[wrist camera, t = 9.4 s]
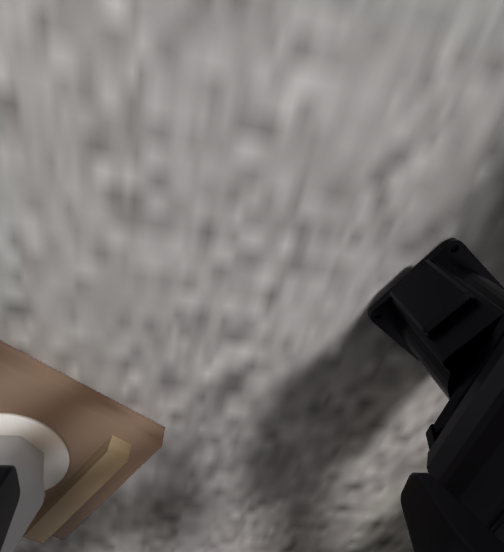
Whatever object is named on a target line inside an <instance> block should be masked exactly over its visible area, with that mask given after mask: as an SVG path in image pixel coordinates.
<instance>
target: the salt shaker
mask: <svg viewBox="0 0 504 552" xmlns="http://www.w3.org/2000/svg"><path fill="white" fill-rule="evenodd" d="M0 465H14V466H15V467H16V469H17V474H18V480H19V485H20V498H19V502H18V505H17V508H16V510H15V513H14V516H13V519H12V521H11V524H10V527H9V530H8V533H7V535H6V538H5V541H4V544H3V547H2V549H1V552H13V550H14V549H15V547H16V546H17V544H18V543H19V541H20V539H21V538H22V536H23V535H24V533H25V531H26V530H27V528H28V527H29V525H30V523H31V522H32V520H33V519H34V517H35V516H36V514H37V512H38V511H39V509H40V508H41V506H42V505H43V501H44V497H45V490H44V480H43V472H44V453H43V452H42V451H40V450H39V449H38V448H36V447H35V446H34V445H33V444H31V443H30V442H29V441H27V440H26V439H25V438H24V437H22V436H7V435H0Z"/></svg>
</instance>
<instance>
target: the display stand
mask: <svg viewBox="0 0 504 552" xmlns="http://www.w3.org/2000/svg"><path fill="white" fill-rule="evenodd" d="M164 430H165V427H163V426H161V425H159V424H157V423H156V422H154V421H152V420H150V419H148V418H146V417H144V416H142V415H140V414H138V413H137V412H135V411H133V410H131V409H129V408H127V407H125V406H123V405H121V404H119V403H118V402H116V401H114V400H112V399H110V398H108V397H106V396H104V395H102V394H100V393H99V392H97V391H95V390H93V389H91V388H89V387H87V386H85V385H83V384H82V383H80V382H78V381H76V380H74V379H72V378H70V377H68V376H66V375H64V374H63V373H61V372H59V371H57V370H55V369H53V368H51V367H49V366H47V365H45V364H44V363H42V362H40V361H38V360H36V359H34V358H32V357H30V356H28V355H26V354H25V353H23V352H21V351H19V350H17V349H15V348H13V347H11V346H9V345H7V344H6V343H4V342H2V341H0V435H7V436H22V437H24V438H25V439H26V440H27V441H29V442H30V443H31V444H33V445H34V446H35V447H36V448H38V449H39V450H40V451H42V452H43V453H44V472H43V480H44V490H45V497H44V501H43V505H42V506H41V508H40V509H39V511H38V512H37V514H36V516H35V517H34V519H33V520H32V522H31V523H30V525H29V527H28V528H27V530H26V532H25V534H24V537H26V538H29V539H32V540H34V541H37V542H40V543H44V542H45V541H46V540H47V539H48V538H49V537H50V536H51V535H52V536H54V537H57V538H60V539H63V540H64V539H65V538H66V537H67V536H68V535H69V534H70V533H71V532H72V531H73V530H74V529H76V528H77V527H78V526H79V525H80V524H81V523H82V522H83V521H84V520H85V519H86V518H87V517H88V516H89V515H90V514H91V513H92V512H93V511H94V510H95V509H97V508H98V507H99V506H100V505H101V504H102V503H103V502H104V501H105V500H106V499H107V498H108V497H109V496H110V495H111V494H112V493H113V492H114V491H115V490H116V489H118V488H119V487H120V486H121V485H122V484H123V483H124V482H125V481H126V480H127V479H128V478H129V477H130V476H131V475H132V474H133V473H134V472H135V471H136V470H137V469H139V468H140V467H141V466H142V465H143V464H144V463H145V462H146V461H147V460H148V459H149V458H150V457H151V456H152V455H153V454H154V453H155V452H156V451H157V450H158V449H160V448H161V447H162V443H163V437H164Z"/></svg>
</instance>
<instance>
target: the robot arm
mask: <svg viewBox="0 0 504 552" xmlns="http://www.w3.org/2000/svg"><path fill="white" fill-rule="evenodd" d="M453 245H455V247H454V249H453V250H450V248H451V247H452V246H453ZM378 312H380V314H379V315H377V316H374V315H375V314H376V313H378ZM368 316H369V318H370V319H371V321H372V322H373V323H375V324H376V325H377V326H378V327H379V328H381V329H382V330H383V331H384V332H385V333H386V334H388V335H389V336H390V337H391V338H392V339H394V340H395V341H396V342H397V343H398V344H400V345H401V346H402V347H403V348H404V349H406V350H407V351H408V352H409V353H410V354H411V355H413V356H414V357H415V358H416V359H417V360H419V361H420V362H421V363H422V365H423V366H424V367H425V369H426V370H427V371H428V373H429V374H430V375H431V376H432V378H433V379H434V380H435V382H436V383H437V384H438V386H439V387H440V388H441V390H442V391H443V392H444V394H445V395H446V396H447V398H448V399H449V401H448V403H447V405H446V406H445V408H444V409H443V411H442V412H441V414H440V416H439V417H438V419H437V420H436V422H435V423H434V424H431V425H430V427H429V429H428V430H427V432H426V437H427V441H428V445H429V452H428V459H427V469H428V473H429V474H428V473H412V474H410V476H409V478H408V480H407V482H406V484H405V486H404V489H403V491H402V493H401V505H402V509H403V513H404V516H405V520H406V524H407V527H408V531H409V535H410V538H411V542H412V546H413V549H414V552H504V288H503V287H502V286H501V285H500V284H499V282H498V281H497V280H496V279H495V278H494V277H493V276H492V275H491V274H490V273H489V271H488V270H487V269H486V268H485V267H484V266H483V265H482V264H481V263H480V262H479V260H478V259H477V258H476V257H475V256H474V255H473V254H472V253H471V252H470V251H469V249H468V248H467V247H466V246H465V245H464V244H463V243H462V242H461V241H459V240H457V239H456V238H450V239H448V240H446V241H445V242H444V243H443V244H442V245H440V246H439V247H438V248H437V249H436V250H435V251H434V252H433V253H431V254H430V255H429V256H428V257H427V258H426V259H425V260H424V261H422V262H421V263H420V264H419V265H418V266H416V267H415V268H414V269H413V270H412V271H411V272H410V273H409V274H408V275H406V276H405V277H404V278H403V279H402V280H401V281H400V282H399V283H397V284H396V285H395V286H394V287H393V288H392V289H391V290H390V291H389V292H388V293H387V294H386V295H384V296H383V297H382V298H381V299H380V300H379V301H378V302H377V303H375V304H374V305H373V306H372V307H371V308H370V309H369V311H368ZM19 498H20V485H19V480H18V474H17V469H16V467H15V466H14V465H0V552H1V549H2V547H3V544H4V541H5V538H6V535H7V533H8V530H9V527H10V524H11V521H12V519H13V516H14V513H15V510H16V508H17V505H18V502H19Z"/></svg>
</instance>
